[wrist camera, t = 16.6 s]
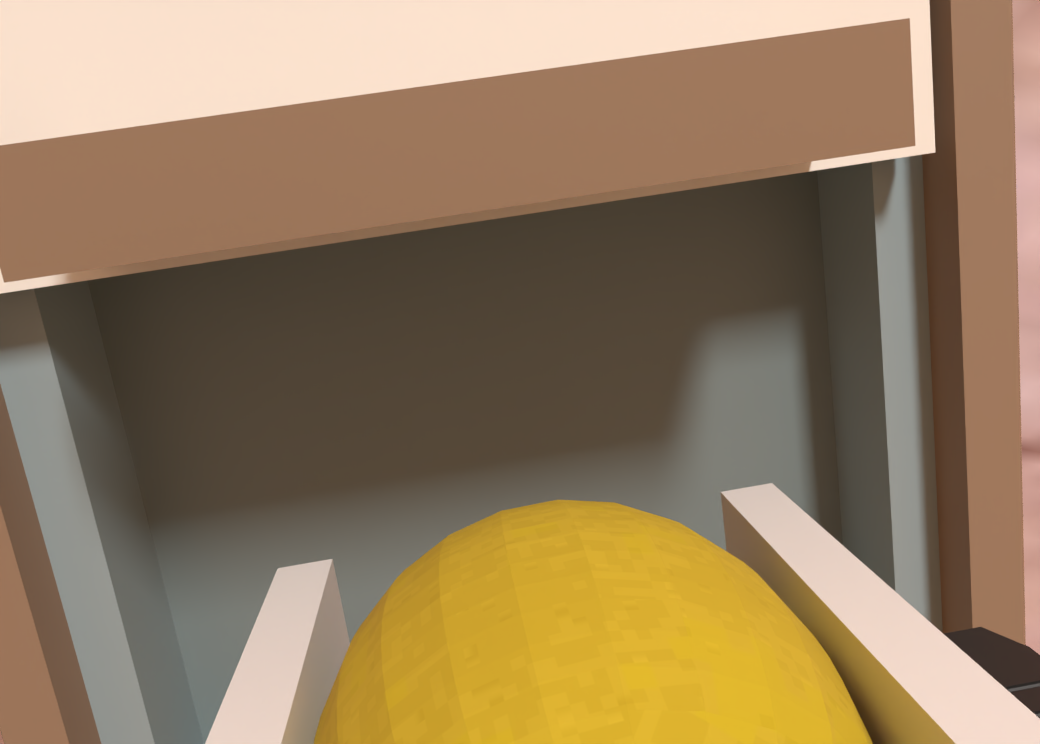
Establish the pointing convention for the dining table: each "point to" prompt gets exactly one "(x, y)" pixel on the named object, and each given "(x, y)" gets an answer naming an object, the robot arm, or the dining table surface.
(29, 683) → the sliding lid box
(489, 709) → the lemon
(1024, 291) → the dining table surface
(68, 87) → the slide cover
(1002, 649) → the robot arm
